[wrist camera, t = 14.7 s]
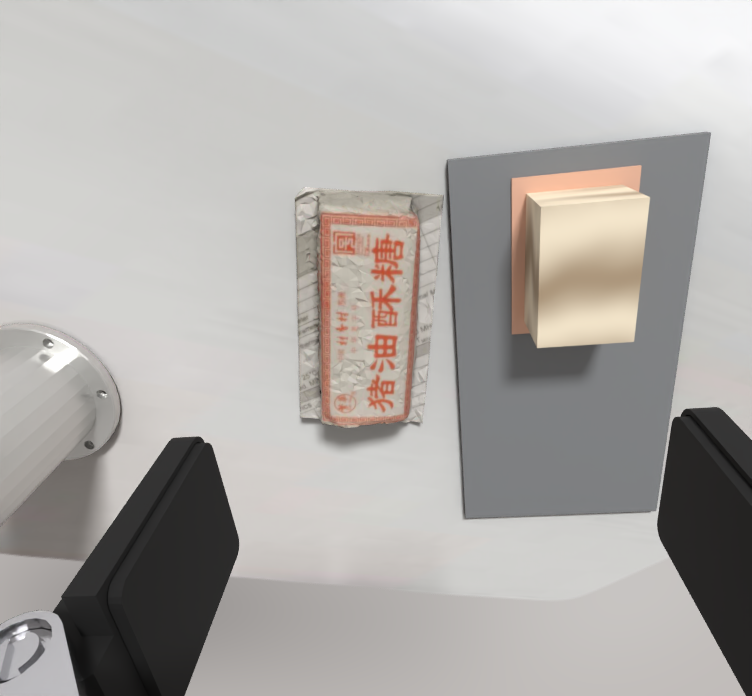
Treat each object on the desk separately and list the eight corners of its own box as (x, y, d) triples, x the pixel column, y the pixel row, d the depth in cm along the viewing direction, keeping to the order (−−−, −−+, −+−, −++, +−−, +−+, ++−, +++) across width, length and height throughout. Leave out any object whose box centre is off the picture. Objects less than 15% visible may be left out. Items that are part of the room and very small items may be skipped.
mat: (465, 513, 48) (465, 519, 47) (447, 159, 35) (447, 160, 34) (653, 506, 46) (657, 512, 45) (706, 132, 33) (712, 132, 33)
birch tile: (526, 193, 35) (541, 207, 31) (622, 184, 34) (650, 197, 30) (524, 321, 39) (537, 348, 35) (610, 315, 38) (634, 342, 34)
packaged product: (282, 196, 32) (447, 205, 32) (297, 184, 37) (443, 191, 36) (291, 442, 40) (424, 451, 40) (302, 408, 45) (423, 416, 44)
